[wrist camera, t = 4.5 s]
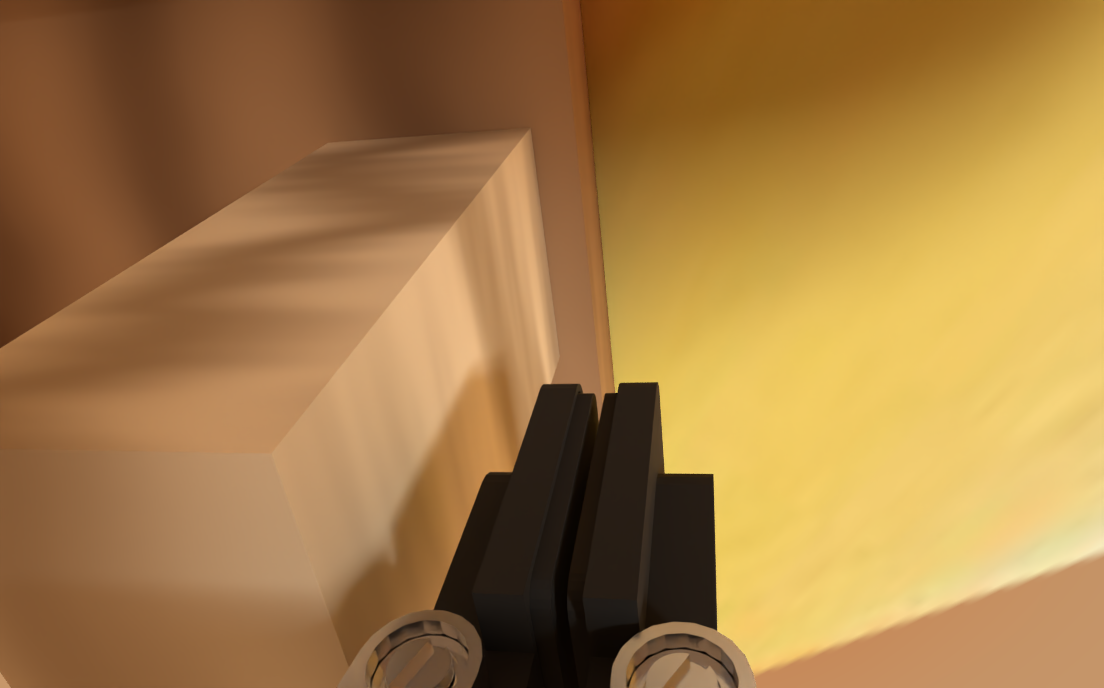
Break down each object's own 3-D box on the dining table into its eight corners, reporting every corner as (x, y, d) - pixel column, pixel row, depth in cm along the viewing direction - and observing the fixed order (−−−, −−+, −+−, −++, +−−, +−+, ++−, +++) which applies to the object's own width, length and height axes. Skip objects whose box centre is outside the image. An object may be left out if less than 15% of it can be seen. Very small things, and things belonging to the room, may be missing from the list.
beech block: (530, 127, 17) (272, 453, 7) (559, 356, 20) (405, 825, 10) (327, 142, 18) (-156, 446, 8) (383, 358, 21) (78, 784, 11)
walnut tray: (568, -133, 17) (533, -143, 13) (620, 451, 24) (606, 539, 21) (-151, -28, 21) (-318, -15, 17) (87, 444, 29) (3, 518, 25)
